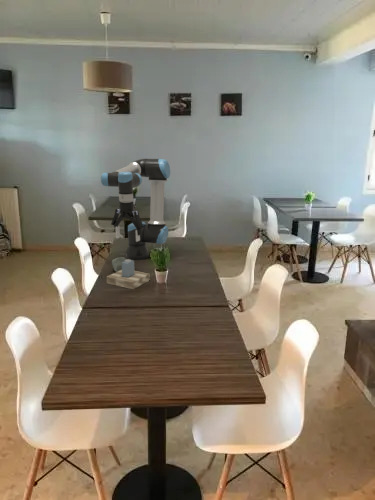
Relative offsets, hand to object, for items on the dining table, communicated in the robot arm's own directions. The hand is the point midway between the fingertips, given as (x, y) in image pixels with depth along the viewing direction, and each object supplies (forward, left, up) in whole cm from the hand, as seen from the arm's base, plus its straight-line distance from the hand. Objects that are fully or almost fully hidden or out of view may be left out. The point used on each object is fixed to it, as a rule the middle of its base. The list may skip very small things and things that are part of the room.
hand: (127, 239), depth 231 cm
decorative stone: (-11, -15, -24) cm, 30 cm away
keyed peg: (+2, +1, -24) cm, 24 cm away
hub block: (+2, +1, -24) cm, 24 cm away
